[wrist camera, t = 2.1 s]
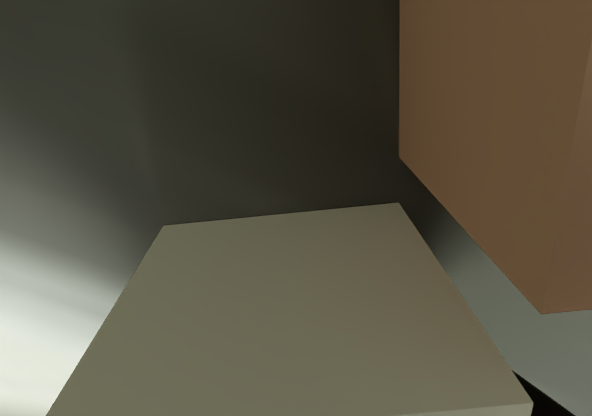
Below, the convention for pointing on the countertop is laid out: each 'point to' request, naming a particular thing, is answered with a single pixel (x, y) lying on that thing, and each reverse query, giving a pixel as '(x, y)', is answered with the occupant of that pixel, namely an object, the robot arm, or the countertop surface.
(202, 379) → the cream brick
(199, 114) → the countertop surface
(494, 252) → the terracotta brick
